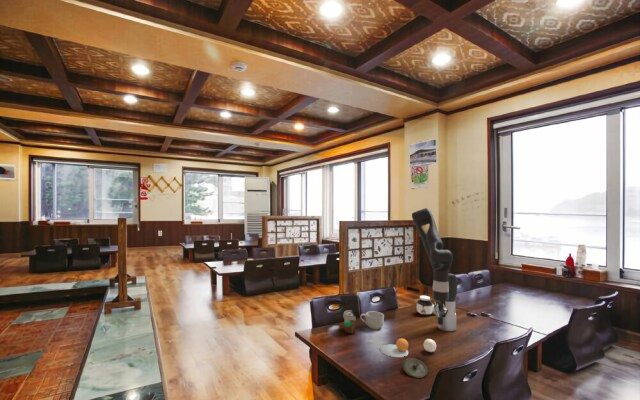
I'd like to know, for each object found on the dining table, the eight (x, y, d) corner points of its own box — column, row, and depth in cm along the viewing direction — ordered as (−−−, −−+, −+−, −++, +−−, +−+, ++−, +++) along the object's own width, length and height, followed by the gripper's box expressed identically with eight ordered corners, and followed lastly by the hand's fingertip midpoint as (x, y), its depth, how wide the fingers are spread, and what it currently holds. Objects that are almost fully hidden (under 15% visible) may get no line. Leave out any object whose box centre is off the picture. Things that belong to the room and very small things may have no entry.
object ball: (398, 334, 160) (392, 344, 160) (401, 338, 154) (395, 349, 154) (408, 340, 160) (402, 350, 160) (412, 345, 154) (405, 356, 154)
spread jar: (414, 313, 215) (415, 296, 215) (423, 310, 223) (423, 293, 223) (431, 318, 206) (431, 300, 207) (439, 314, 214) (439, 297, 214)
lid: (422, 366, 141) (422, 355, 142) (431, 378, 132) (431, 366, 132) (399, 366, 141) (399, 355, 141) (406, 378, 131) (406, 366, 131)
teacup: (384, 325, 190) (385, 312, 190) (382, 332, 180) (382, 318, 180) (362, 322, 195) (362, 309, 195) (358, 328, 185) (358, 314, 185)
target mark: (403, 344, 164) (403, 344, 164) (412, 357, 150) (412, 357, 150) (377, 344, 163) (377, 344, 163) (383, 357, 149) (383, 356, 149)
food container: (341, 326, 187) (341, 309, 187) (351, 326, 187) (351, 309, 188) (344, 335, 175) (345, 316, 175) (355, 334, 175) (355, 316, 175)
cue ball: (427, 334, 160) (419, 342, 160) (432, 339, 154) (424, 348, 154) (435, 342, 160) (427, 351, 160) (440, 348, 154) (432, 356, 154)
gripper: (454, 293, 152) (453, 329, 151) (442, 286, 165) (441, 319, 164) (438, 293, 151) (437, 329, 151) (428, 286, 165) (427, 319, 164)
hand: (440, 324), depth 158 cm, fingers closed
